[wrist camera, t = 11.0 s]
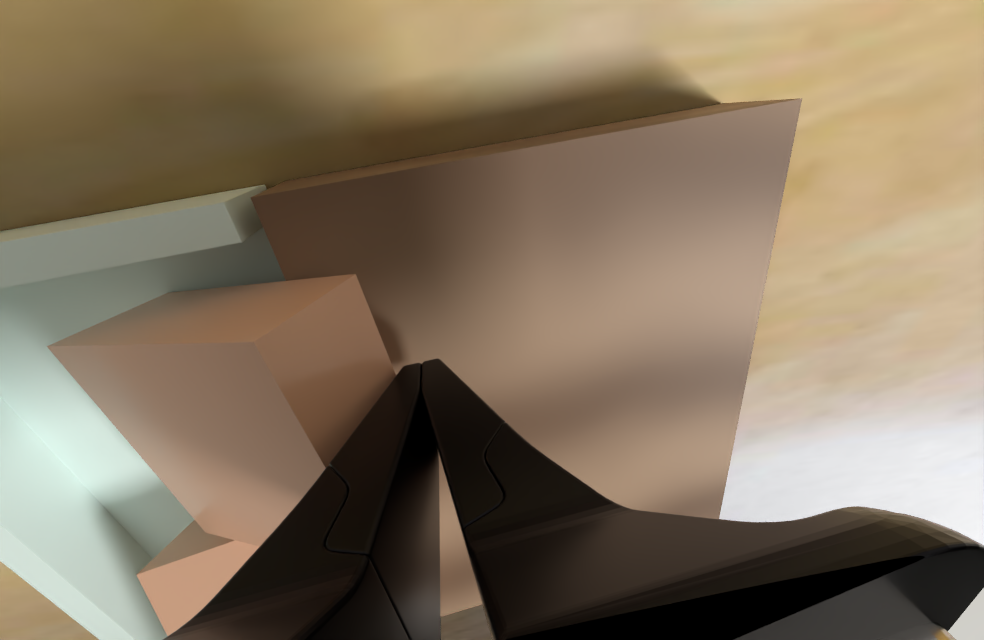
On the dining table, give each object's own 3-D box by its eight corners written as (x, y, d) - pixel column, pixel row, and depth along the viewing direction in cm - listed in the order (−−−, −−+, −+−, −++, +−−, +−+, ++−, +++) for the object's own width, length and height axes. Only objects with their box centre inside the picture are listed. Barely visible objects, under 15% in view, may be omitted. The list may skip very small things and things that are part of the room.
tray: (416, 560, 17) (417, 623, 15) (202, 620, 16) (171, 696, 14) (265, 184, 10) (223, 202, 8) (-145, 257, 9) (-327, 301, 7)
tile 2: (423, 605, 14) (415, 673, 12) (264, 662, 14) (223, 745, 12) (365, 460, 14) (345, 501, 11) (195, 518, 13) (136, 574, 11)
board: (678, 486, 19) (715, 535, 16) (427, 556, 17) (430, 619, 15) (723, 103, 11) (802, 98, 9) (285, 180, 10) (249, 197, 8)
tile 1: (438, 482, 10) (389, 579, 8) (276, 460, 13) (205, 532, 11) (355, 274, 8) (252, 342, 6) (168, 292, 10) (46, 346, 8)
